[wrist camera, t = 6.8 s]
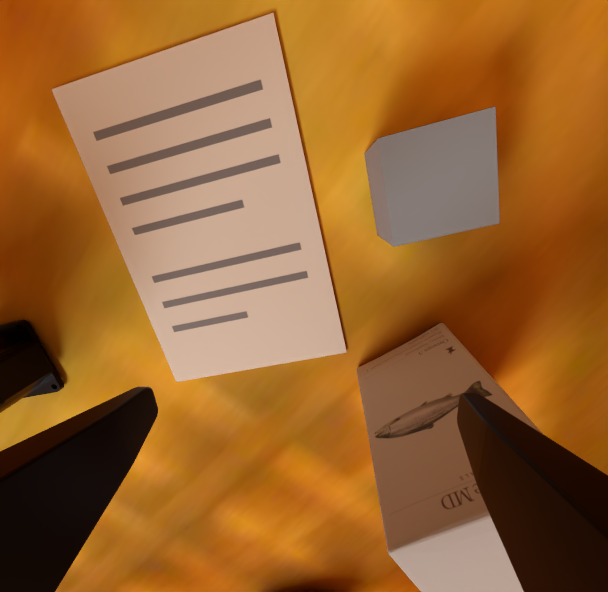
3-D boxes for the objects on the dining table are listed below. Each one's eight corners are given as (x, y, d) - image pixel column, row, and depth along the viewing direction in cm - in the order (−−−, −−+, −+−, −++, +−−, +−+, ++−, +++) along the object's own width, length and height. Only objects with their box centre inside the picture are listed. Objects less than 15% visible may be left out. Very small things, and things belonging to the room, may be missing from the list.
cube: (377, 234, 19) (393, 246, 15) (364, 154, 18) (377, 138, 13) (455, 217, 19) (499, 223, 14) (449, 131, 17) (495, 106, 13)
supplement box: (442, 317, 21) (598, 479, 9) (486, 392, 23) (668, 613, 11) (352, 365, 23) (383, 555, 11) (399, 432, 24) (472, 659, 12)
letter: (177, 380, 24) (176, 381, 24) (54, 90, 18) (51, 89, 18) (346, 351, 22) (346, 352, 22) (273, 14, 16) (273, 12, 16)
